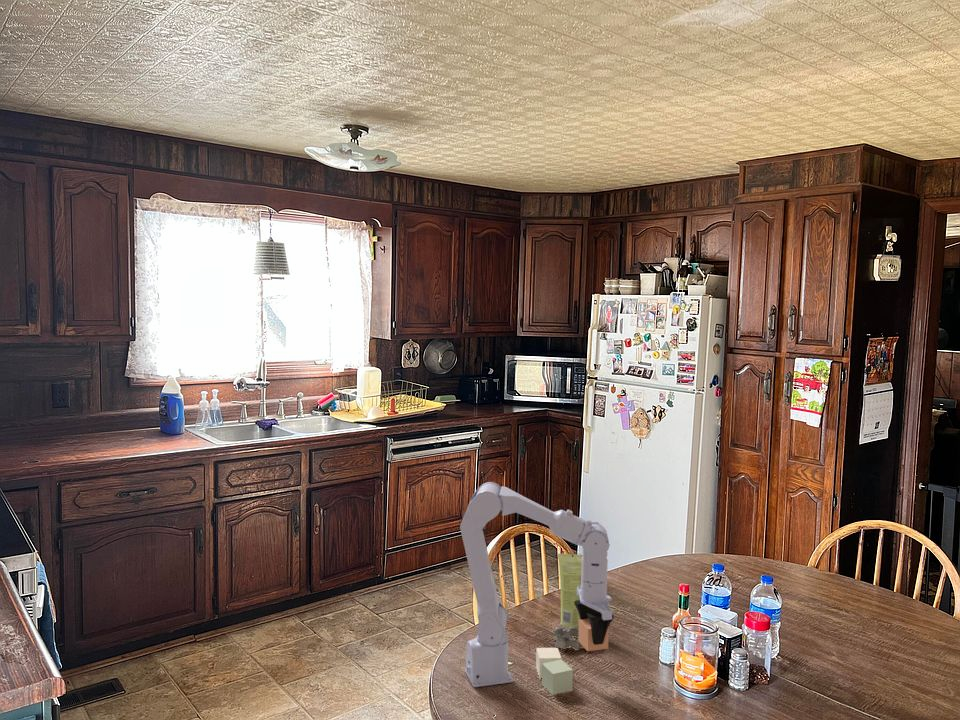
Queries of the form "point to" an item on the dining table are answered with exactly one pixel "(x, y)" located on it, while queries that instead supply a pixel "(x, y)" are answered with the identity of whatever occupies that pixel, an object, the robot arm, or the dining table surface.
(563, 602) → the tube
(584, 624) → the terracotta block
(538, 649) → the cream block
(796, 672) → the dining table surface
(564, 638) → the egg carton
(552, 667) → the sage block
